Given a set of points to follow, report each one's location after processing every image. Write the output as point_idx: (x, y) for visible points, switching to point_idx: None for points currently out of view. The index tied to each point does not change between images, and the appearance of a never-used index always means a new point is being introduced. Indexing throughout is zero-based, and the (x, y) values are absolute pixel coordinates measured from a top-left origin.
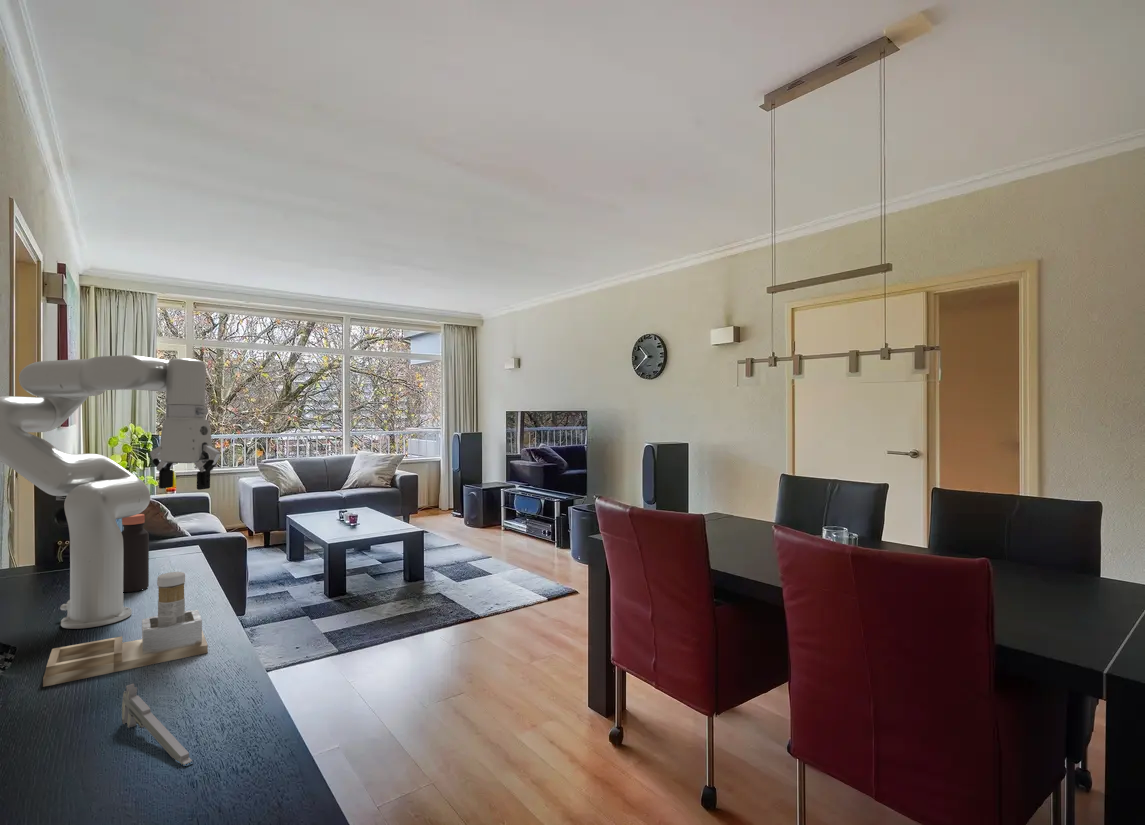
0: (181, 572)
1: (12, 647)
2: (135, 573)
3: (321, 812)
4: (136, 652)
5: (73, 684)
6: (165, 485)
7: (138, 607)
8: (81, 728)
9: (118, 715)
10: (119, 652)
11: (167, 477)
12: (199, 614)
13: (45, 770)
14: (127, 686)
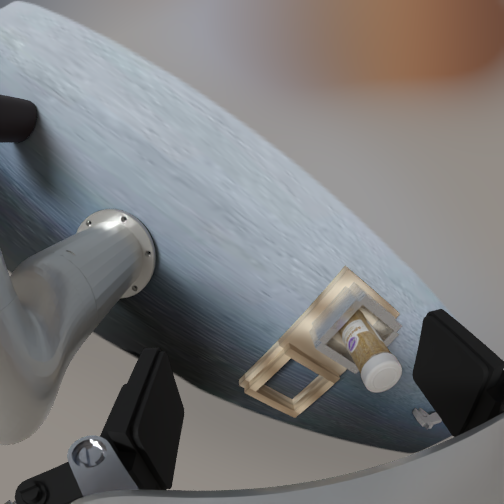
0: (393, 365)
1: (133, 354)
2: (15, 126)
3: None
4: None
5: (318, 398)
6: (178, 404)
7: (109, 183)
8: (389, 423)
9: (401, 407)
10: (337, 379)
11: (163, 429)
12: (383, 310)
13: (403, 442)
14: (427, 428)
